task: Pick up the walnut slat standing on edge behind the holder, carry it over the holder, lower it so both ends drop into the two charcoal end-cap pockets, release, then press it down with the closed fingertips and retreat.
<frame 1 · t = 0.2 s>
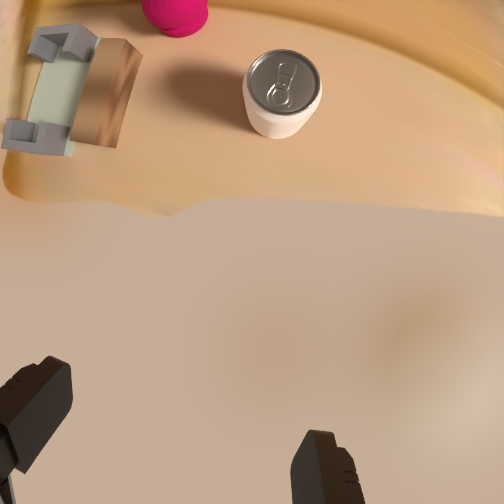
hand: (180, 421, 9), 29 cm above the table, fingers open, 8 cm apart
slat: (117, 99, 34), on the table
holder: (61, 94, 33), on the table
pepper mill: (183, 18, 31), on the table
can: (276, 112, 34), on the table
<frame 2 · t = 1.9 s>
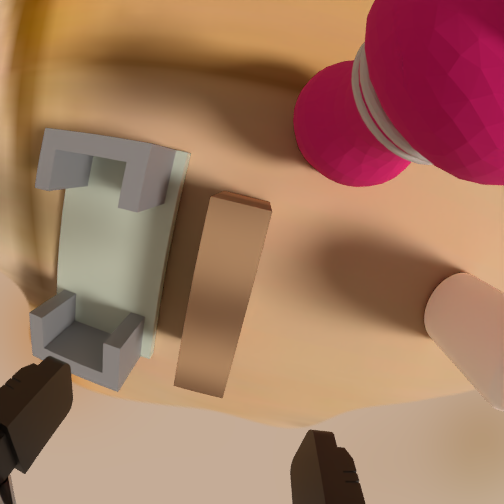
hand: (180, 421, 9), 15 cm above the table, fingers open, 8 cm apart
slat: (227, 277, 24), on the table
holder: (113, 247, 23), on the table
pepper mill: (338, 133, 21), on the table
can: (451, 306, 24), on the table
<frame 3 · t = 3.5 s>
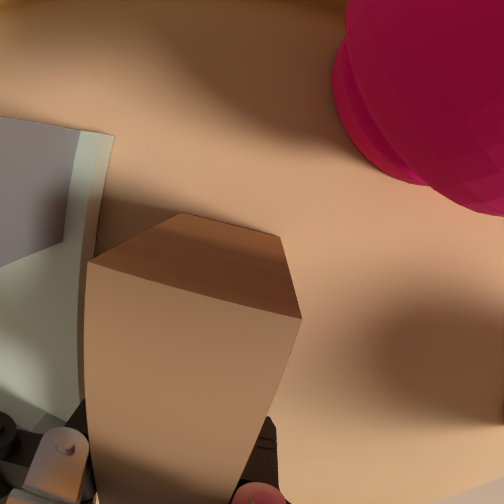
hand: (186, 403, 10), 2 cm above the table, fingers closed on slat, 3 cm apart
slat: (195, 378, 12), on the table, touching gripper
holder: (9, 309, 11), on the table
pepper mill: (414, 97, 9), on the table
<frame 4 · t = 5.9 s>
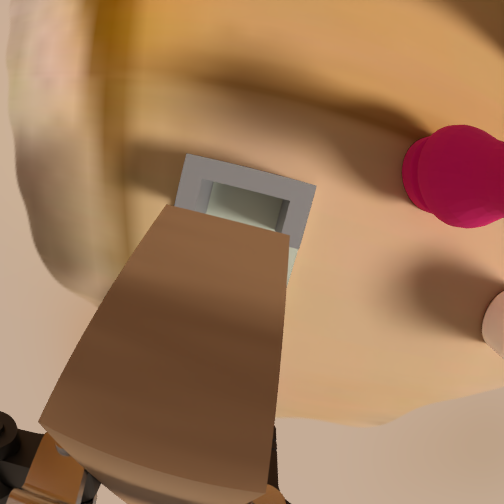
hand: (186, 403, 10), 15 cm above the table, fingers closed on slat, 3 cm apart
slat: (201, 354, 12), point 13 cm above the table, tilted 24°, touching gripper
holder: (227, 273, 25), on the table
pepper mill: (432, 174, 23), on the table
can: (500, 315, 26), on the table
when the fingers open (4 cm above the table, at t = 8.1 s): slat drops 1 cm, resting on holder.
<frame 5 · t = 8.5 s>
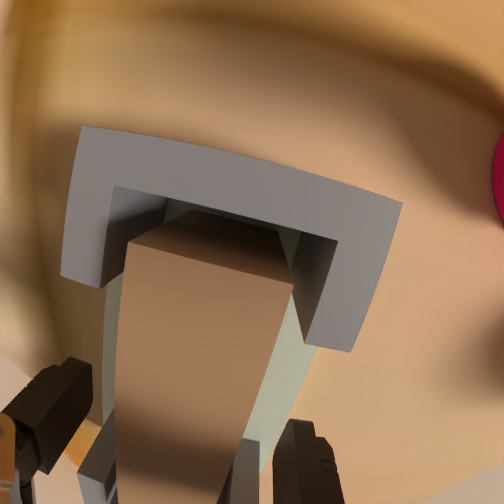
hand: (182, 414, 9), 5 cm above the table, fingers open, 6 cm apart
slat: (201, 359, 13), point 1 cm above the table, touching holder
holder: (204, 346, 14), on the table
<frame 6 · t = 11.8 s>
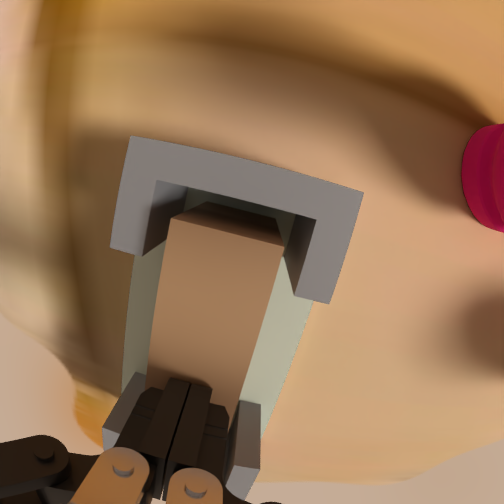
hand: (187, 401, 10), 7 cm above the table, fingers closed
slat: (212, 327, 16), point 1 cm above the table, touching gripper, holder
holder: (214, 317, 17), on the table
pepper mill: (495, 177, 15), on the table
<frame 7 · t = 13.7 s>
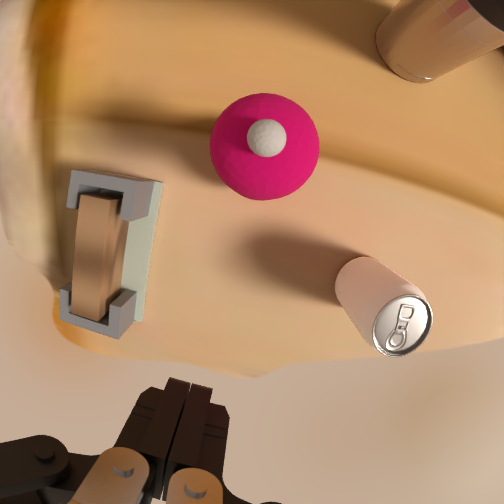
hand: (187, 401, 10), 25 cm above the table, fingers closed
slat: (112, 248, 34), point 1 cm above the table, touching holder
holder: (115, 245, 35), on the table
pepper mill: (260, 163, 33), on the table
can: (360, 283, 35), on the table
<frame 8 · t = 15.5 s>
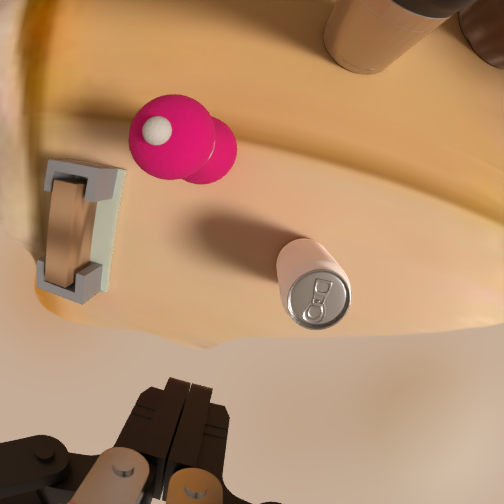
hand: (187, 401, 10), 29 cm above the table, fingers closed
slat: (83, 226, 37), point 1 cm above the table, touching holder
holder: (86, 224, 38), on the table
pepper mill: (208, 152, 36), on the table
plant pot: (486, 34, 30), on the table
can: (302, 263, 39), on the table
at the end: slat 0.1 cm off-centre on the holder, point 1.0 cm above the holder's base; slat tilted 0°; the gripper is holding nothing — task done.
